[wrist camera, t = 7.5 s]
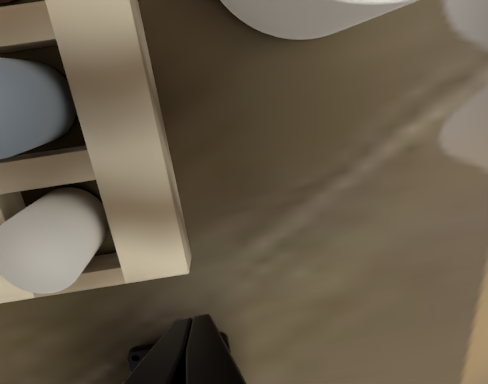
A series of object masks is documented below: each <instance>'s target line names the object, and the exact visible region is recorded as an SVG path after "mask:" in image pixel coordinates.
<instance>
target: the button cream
mask: <svg viewBox="0 0 488 384" xmlns="http://www.w3.org/2000/svg"><path fill="white" fill-rule="evenodd" d="M109 228H110V227H109V223H108V220H107V216H106V213H105V209H104V206H103V204H102V203H101V202H100V200H99V199H97V198H96V197H95V196H94V195H92V194H91V193H89V192H87V191H85V190H82V189H79V188H73V187H63V188H58V189H55V190H53V191H51V192H49V193H47V194H46V195H44V196H43V197H41V198H40V199H38V200H37V201H35V202H34V203H32V204H31V205H29V206H28V207H26V208H25V209H23V210H22V211H20V212H19V213H17V214H16V215H14V216H13V217H11V218H10V219H8V220H7V221H5V222H4V223H3V224H1V225H0V274H1V275H2V276H3V277H4V278H5V279H6V280H7V281H8V282H10V283H11V284H12V285H14V286H16V287H18V288H20V289H22V290H25V291H28V292H32V293H38V294H49V293H55V292H59V291H61V290H64V289H66V288H67V287H69V286H70V285H72V284H73V283H74V282H75V281H76V280H77V278H78V277H79V276H80V274H81V273H82V271H83V270H84V269H85V267H86V266H87V264H88V263H89V262H90V260H91V259H92V257H93V256H94V255H95V253H96V252H97V250H98V249H99V248H100V246H101V245H102V243H103V242H104V241H105V239H106V237H107V235H108V233H109Z"/></svg>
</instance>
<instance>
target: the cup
mask: <svg viewBox="0 0 488 384" xmlns="http://www.w3.org/2000/svg"><path fill="white" fill-rule="evenodd" d="M220 1H221V2H222V3H223V4H224V6H225V7H226V8H227V9H228V10H229V11H230V12H231V13H233V14H234V15H235V16H236V17H237V18H239V19H240V20H241V21H243V22H244V23H246V24H247V25H249V26H251V27H252V28H254V29H256V30H258V31H260V32H263V33H266V34H269V35H272V36H275V37H279V38H285V39H294V40H305V39H315V38H320V37H324V36H328V35H331V34H333V33H336V32H339V31H341V30H344V29H347V28H349V27H352V26H354V25H357V24H360V23H362V22H365V21H367V20H370V19H372V18H375V17H378V16H380V15H383V14H385V13H388V12H390V11H393V10H395V9H398V8H400V7H403V6H406V5H408V4H411V3H413V2H416V1H418V0H220Z"/></svg>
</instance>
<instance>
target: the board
mask: <svg viewBox="0 0 488 384" xmlns="http://www.w3.org/2000/svg"><path fill="white" fill-rule="evenodd" d="M56 45H58V48H59V51H60V55H61V58H62V62H63V66H64V69H65V73H66V76H67V80H68V83H69V87H70V90H71V94H72V97H73V101H74V104H75V108H76V111H77V115H78V118H79V122H80V125H81V129H82V132H83V136H84V139H85V143H86V145H83V146H77V147H70V148H63V149H57V150H50V151H44V152H37V153H30V154H24V155H17V156H11V157H9V158H4V159H0V225H1V224H3V223H4V222H5V221H7V220H8V219H10V218H11V217H13V216H14V215H16V214H17V213H19V212H20V211H22V210H23V209H25V208H26V206H25V203H24V200H23V198H22V195H21V192H20V191H25V190H31V189H38V188H45V187H51V186H58V185H64V184H71V183H77V182H84V181H90V180H96V181H97V185H98V188H99V192H100V195H101V199H102V202H103V206H104V209H105V213H106V216H107V220H108V223H109V227H110V230H111V234H112V237H113V241H114V244H115V248H116V251H117V253H111V254H104V255H98V256H93V257H92V259H91V260H90V262H89V263H88V264H87V266H86V267H85V269H84V270H83V271H82V273H81V274H80V276H79V277H78V278H77V280H76V281H75V282H74V283H73V284H72V285H70V286H69V287H67V288H66V289H64V290H61V291H59V292H55V293H49V294H38V293H32V292H28V291H25V290H22V289H20V288H18V287H16V286H14V285H12V284H11V283H10V282H8V281H7V280H6V279H5V278H4V277H3V276H2V275H1V274H0V303H5V302H12V301H18V300H24V299H31V298H37V297H43V296H50V295H56V294H63V293H69V292H75V291H82V290H88V289H94V288H101V287H107V286H113V285H120V284H126V283H132V282H139V281H145V280H151V279H158V278H164V277H170V276H177V275H183V274H189V270H190V264H191V257H192V255H191V250H190V246H189V241H188V236H187V232H186V227H185V222H184V217H183V213H182V208H181V203H180V198H179V194H178V189H177V184H176V179H175V175H174V170H173V165H172V160H171V156H170V151H169V146H168V141H167V137H166V132H165V127H164V123H163V118H162V113H161V108H160V104H159V99H158V94H157V89H156V85H155V80H154V75H153V70H152V66H151V61H150V56H149V51H148V47H147V42H146V37H145V32H144V28H143V23H142V18H141V14H140V9H139V4H138V0H45V1H39V2H32V3H25V4H18V5H11V6H4V7H0V54H1V53H8V52H15V51H22V50H29V49H35V48H42V47H49V46H56Z"/></svg>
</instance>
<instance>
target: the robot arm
mask: <svg viewBox="0 0 488 384" xmlns="http://www.w3.org/2000/svg"><path fill="white" fill-rule="evenodd" d="M134 355H138V356H139V357H136V356H134ZM128 361H129V364H130V368H131V371H132V373H131V374H130V375H129V376H128V377H127V379H126V380H125V381H124V382H123V384H246V382H245V380H244V378H243V376H242V374H241V372H240V371H239V369H238V367H237V365H236V363H235V361H234V359H233V357H232V356H231V351H230V346H229V341H228V337H227V336H226V335H224V334H220V333H219V331H218V329H217V327H216V325H215V324H214V322H213V320H212V318H211V316H210V315H209V314H205V315H199V316H195V317H193V319H192V318H191V317H187V318H181V319H177V320H175V321H174V322H173V323H172V325H171V326H170V327H169V328H168V329H167V331H166V332H165V333H164V334H163V335H162V337H161V338H160V339H159V340H158V341H157V343H156V344H153V345H147V346H141V347H135V348H132V349H131V350H130V352H129V355H128Z"/></svg>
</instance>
